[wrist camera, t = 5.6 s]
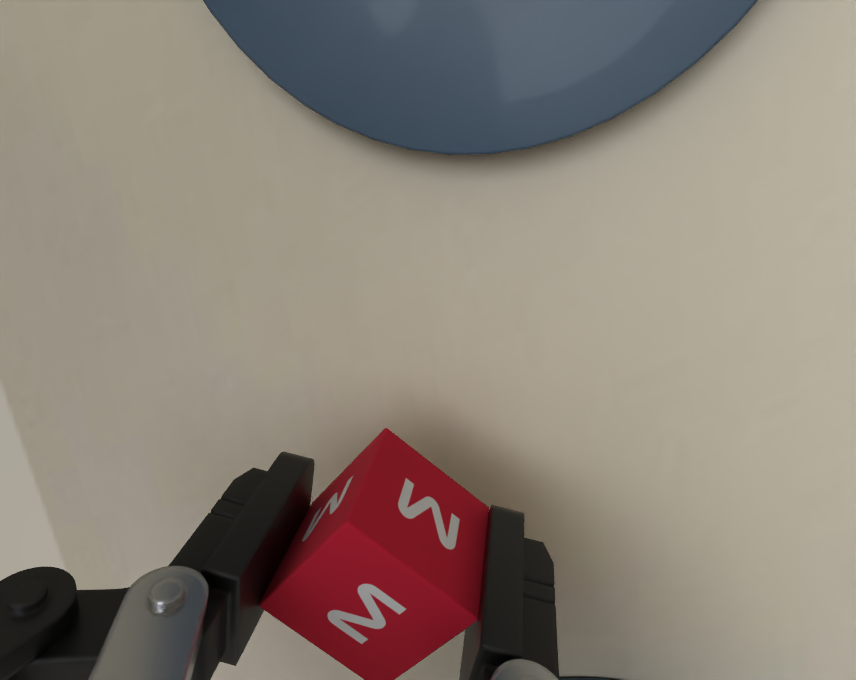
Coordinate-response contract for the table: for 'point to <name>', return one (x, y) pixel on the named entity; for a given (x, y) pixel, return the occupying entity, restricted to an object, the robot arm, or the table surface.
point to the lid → (474, 62)
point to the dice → (383, 563)
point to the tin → (583, 679)
